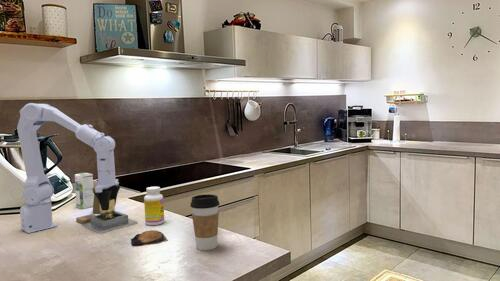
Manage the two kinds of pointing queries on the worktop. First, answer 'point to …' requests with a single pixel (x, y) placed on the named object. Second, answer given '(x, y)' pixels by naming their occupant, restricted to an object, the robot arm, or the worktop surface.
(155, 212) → the supplement bottle
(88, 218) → the stand
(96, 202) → the cork
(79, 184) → the syrup box
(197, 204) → the coffee cup
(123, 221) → the grey square tray
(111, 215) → the slotted brass cylinder
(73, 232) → the worktop surface
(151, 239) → the bread roll
